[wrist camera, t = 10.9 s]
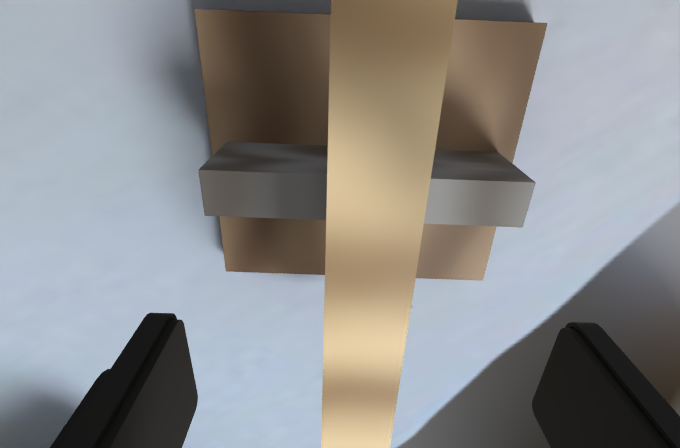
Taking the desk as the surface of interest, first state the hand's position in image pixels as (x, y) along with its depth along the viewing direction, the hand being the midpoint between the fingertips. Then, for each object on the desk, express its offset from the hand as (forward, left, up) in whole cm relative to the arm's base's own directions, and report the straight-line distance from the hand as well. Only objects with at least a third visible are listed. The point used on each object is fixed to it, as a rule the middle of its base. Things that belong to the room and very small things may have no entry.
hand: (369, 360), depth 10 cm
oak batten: (0, 0, -10) cm, 10 cm away
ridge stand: (0, 0, -17) cm, 17 cm away
